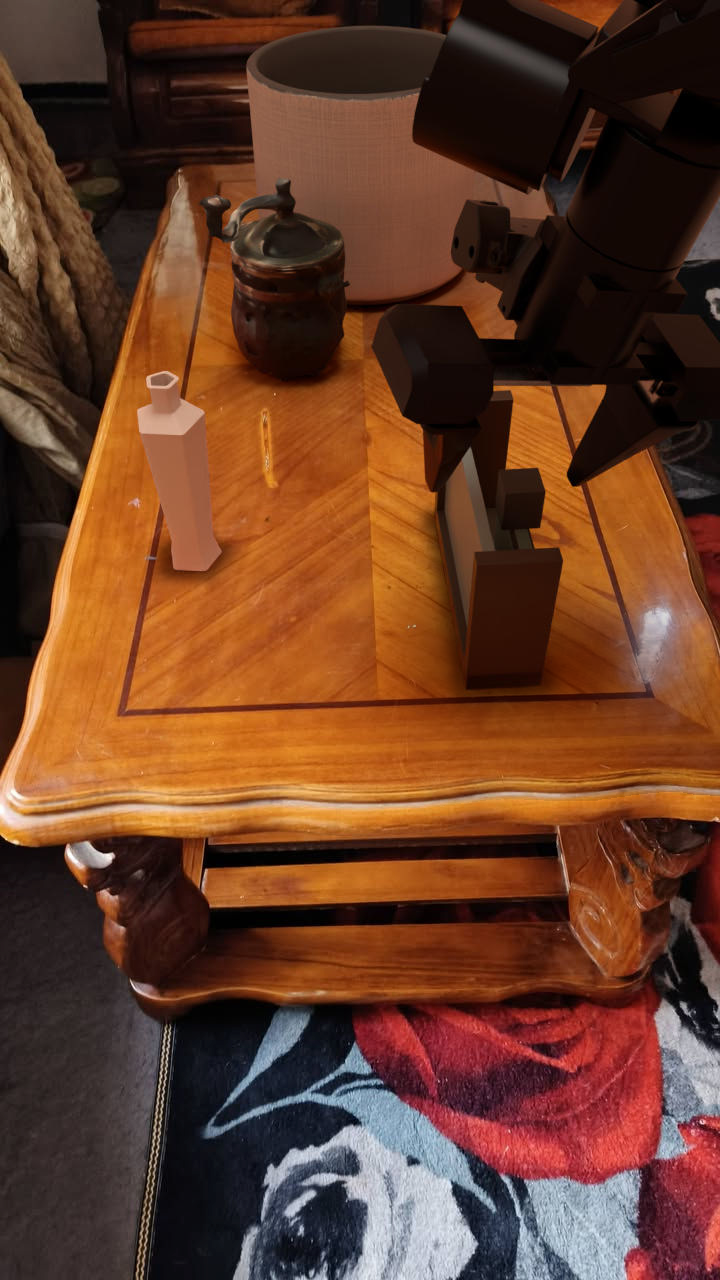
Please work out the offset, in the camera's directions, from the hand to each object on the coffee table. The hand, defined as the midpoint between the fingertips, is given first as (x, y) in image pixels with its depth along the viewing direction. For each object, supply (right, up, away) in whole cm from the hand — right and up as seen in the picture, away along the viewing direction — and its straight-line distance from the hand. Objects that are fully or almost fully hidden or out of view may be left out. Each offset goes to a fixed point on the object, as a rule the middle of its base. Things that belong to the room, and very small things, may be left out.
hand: (503, 483), depth 55 cm
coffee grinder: (-15, +17, +36) cm, 42 cm away
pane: (+2, -7, +10) cm, 13 cm away
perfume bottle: (-21, -3, +18) cm, 27 cm away
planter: (-8, +32, +51) cm, 60 cm away
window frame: (+1, -6, +14) cm, 15 cm away
